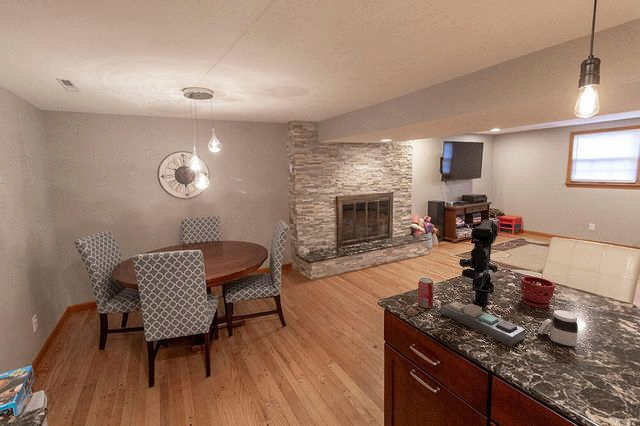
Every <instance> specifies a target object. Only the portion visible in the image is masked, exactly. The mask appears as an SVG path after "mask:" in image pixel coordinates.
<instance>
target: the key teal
mask: <svg viewBox="0 0 640 426" xmlns="http://www.w3.org/2000/svg"><path fill="white" fill-rule="evenodd" d="M488 314H489V313H487V314H484V315H482V316H480V317H479V320H481V321H483V322H486V323H488V324H490V325H494V324H496V323H498V318H499V317H497V318H496V316H494V315H492V316H491V314H489V315H488ZM493 316H494V317H493Z"/></svg>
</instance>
